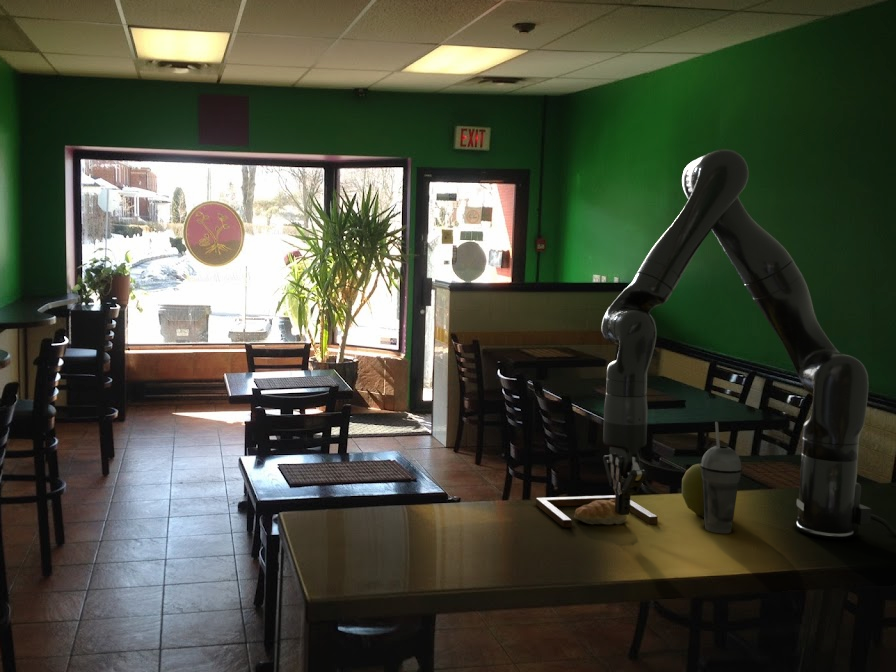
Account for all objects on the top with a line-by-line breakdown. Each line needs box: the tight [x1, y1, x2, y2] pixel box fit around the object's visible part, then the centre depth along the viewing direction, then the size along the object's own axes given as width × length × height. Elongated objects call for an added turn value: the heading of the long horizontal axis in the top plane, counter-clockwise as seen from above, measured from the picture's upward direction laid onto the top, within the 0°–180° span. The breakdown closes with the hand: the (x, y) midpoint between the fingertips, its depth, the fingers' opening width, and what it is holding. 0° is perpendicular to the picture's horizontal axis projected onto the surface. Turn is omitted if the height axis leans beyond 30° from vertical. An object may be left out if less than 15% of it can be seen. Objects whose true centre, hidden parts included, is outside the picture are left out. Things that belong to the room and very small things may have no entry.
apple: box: [681, 463, 704, 517], centre depth 173 cm, size 10×10×11 cm
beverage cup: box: [700, 421, 743, 534], centre depth 164 cm, size 7×7×20 cm
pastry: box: [573, 499, 628, 525], centre depth 168 cm, size 9×7×4 cm
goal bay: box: [535, 494, 659, 528], centre depth 172 cm, size 19×15×1 cm
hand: (622, 513), depth 161 cm, fingers closed
